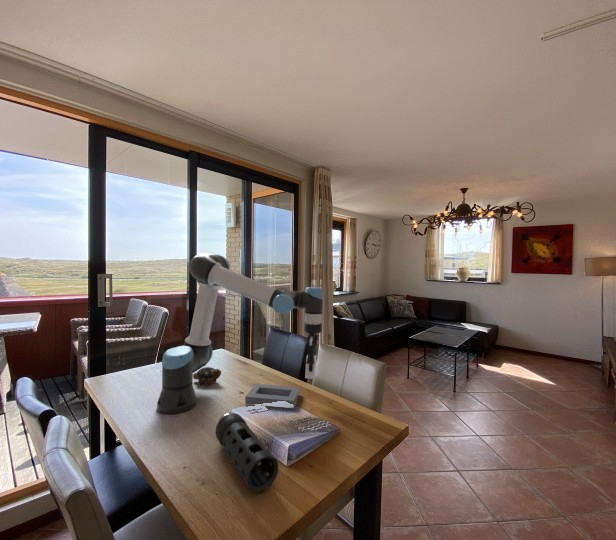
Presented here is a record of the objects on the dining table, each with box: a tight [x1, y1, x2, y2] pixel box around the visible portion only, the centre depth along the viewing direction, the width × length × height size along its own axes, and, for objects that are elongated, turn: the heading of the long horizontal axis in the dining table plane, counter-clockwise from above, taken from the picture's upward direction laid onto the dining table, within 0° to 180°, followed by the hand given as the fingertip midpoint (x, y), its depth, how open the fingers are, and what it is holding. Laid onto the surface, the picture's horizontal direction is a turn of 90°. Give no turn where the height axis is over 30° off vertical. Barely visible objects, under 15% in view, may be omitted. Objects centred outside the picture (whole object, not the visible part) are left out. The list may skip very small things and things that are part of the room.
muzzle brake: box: [215, 412, 279, 494], centre depth 89 cm, size 10×28×10 cm, turn 34°
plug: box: [304, 354, 317, 380], centre depth 129 cm, size 4×4×9 cm
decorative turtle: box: [193, 366, 222, 387], centre depth 148 cm, size 10×15×8 cm, turn 80°
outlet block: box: [244, 383, 301, 406], centre depth 132 cm, size 21×14×4 cm, turn 82°
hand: (311, 376), depth 129 cm, fingers closed on plug, 4 cm apart
